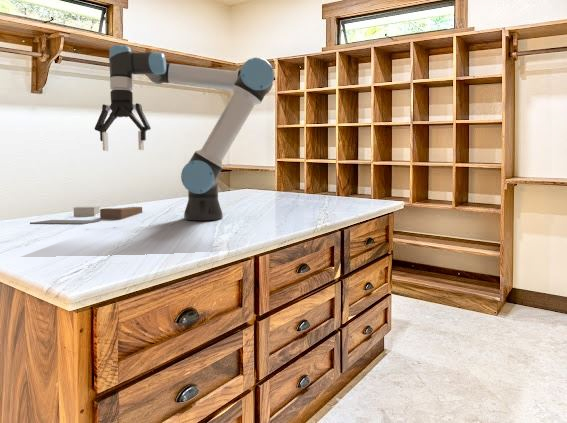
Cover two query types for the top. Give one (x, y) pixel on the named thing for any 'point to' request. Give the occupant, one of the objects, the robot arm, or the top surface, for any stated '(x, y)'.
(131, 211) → the wooden block
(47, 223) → the charcoal mat
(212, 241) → the top surface
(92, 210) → the smooth beige box
